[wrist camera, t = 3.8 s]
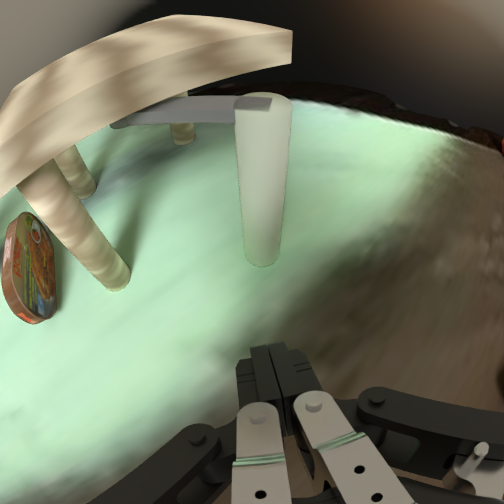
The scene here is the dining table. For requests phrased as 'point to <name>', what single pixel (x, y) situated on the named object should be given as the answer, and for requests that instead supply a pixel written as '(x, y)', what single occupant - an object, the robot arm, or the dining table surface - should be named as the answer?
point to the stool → (115, 113)
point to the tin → (29, 270)
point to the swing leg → (242, 156)
